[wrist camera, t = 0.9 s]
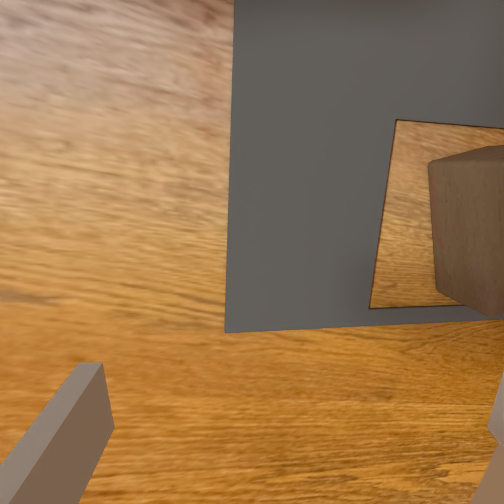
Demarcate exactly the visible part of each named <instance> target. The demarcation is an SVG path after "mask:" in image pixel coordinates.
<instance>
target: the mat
mask: <svg viewBox="0 0 504 504" xmlns="http://www.w3.org/2000/svg"><path fill="white" fill-rule="evenodd" d="M395 120H407V121H419V122H431V123H442V124H454V125H466V126H478V127H489V128H501V129H504V0H235V6H234V38H233V71H232V104H231V137H230V169H229V202H228V235H227V267H226V300H225V333H240V332H260V331H280V330H300V329H320V328H340V327H360V326H380V325H400V324H420V323H440V322H460V321H480V320H500V319H504V313H503V314H500V315H497V316H494V317H487V316H485V315H483V314H481V313H479V312H477V311H475V310H473V309H471V308H469V307H467V306H465V305H440V306H414V307H389V308H369V302H370V295H371V288H372V281H373V274H374V267H375V260H376V253H377V246H378V239H379V232H380V225H381V218H382V211H383V204H384V197H385V190H386V183H387V176H388V169H389V162H390V155H391V148H392V141H393V134H394V127H395Z"/></svg>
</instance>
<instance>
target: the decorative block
mask: <svg viewBox="0 0 504 504" xmlns="http://www.w3.org/2000/svg"><path fill="white" fill-rule="evenodd" d="M428 177H429V192H430V206H431V221H432V235H433V250H434V264H435V279H436V289H437V291H438V292H440V293H442V294H444V295H446V296H448V297H450V298H452V299H454V300H456V301H457V302H459V303H461V304H463V305H465V306H467V307H469V308H471V309H473V310H475V311H477V312H479V313H481V314H483V315H485V316H487V317H494V316H497V315H500V314H503V313H504V145H499V146H487V147H483V148H479V149H475V150H471V151H468V152H464V153H460V154H456V155H452V156H448V157H445V158H441V159H437V160H433V161H431V162H430V163H428Z"/></svg>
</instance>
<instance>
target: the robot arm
mask: <svg viewBox="0 0 504 504" xmlns="http://www.w3.org/2000/svg"><path fill="white" fill-rule="evenodd" d="M487 428H488V429H489V431H490V432H491V433H492V435H493V436H494V437H495V438H496V440H497V441H498V442H499V443H500V445H501V446H502V447H503V448H504V372H503V375H502V379H501V382H500V385H499V389H498V392H497V396H496V399H495V402H494V406H493V409H492V413H491V416H490V419H489V423H488V426H487ZM113 430H114V422H113V417H112V412H111V406H110V401H109V396H108V390H107V385H106V379H105V374H104V369H103V363H79V364H78V365H77V366H76V367H75V369H74V370H73V371H72V373H71V374H70V375H69V377H68V378H67V379H66V381H65V382H64V383H63V384H62V386H61V387H60V388H59V390H58V391H57V392H56V394H55V395H54V396H53V398H52V399H51V400H50V402H49V403H48V404H47V405H46V407H45V408H44V409H43V411H42V412H41V413H40V415H39V416H38V417H37V419H36V420H35V421H34V422H33V424H32V425H31V426H30V428H29V429H28V430H27V432H26V433H25V434H24V436H23V437H22V438H21V439H20V441H19V442H18V443H17V445H16V446H15V447H14V449H13V450H12V451H11V453H10V454H9V455H8V456H7V458H6V459H5V460H4V462H3V463H2V464H1V466H0V504H78V503H79V501H80V499H81V497H82V495H83V493H84V491H85V488H86V486H87V484H88V482H89V480H90V478H91V476H92V474H93V472H94V469H95V467H96V465H97V463H98V461H99V459H100V457H101V455H102V453H103V451H104V448H105V446H106V444H107V442H108V440H109V438H110V436H111V434H112V432H113Z"/></svg>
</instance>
